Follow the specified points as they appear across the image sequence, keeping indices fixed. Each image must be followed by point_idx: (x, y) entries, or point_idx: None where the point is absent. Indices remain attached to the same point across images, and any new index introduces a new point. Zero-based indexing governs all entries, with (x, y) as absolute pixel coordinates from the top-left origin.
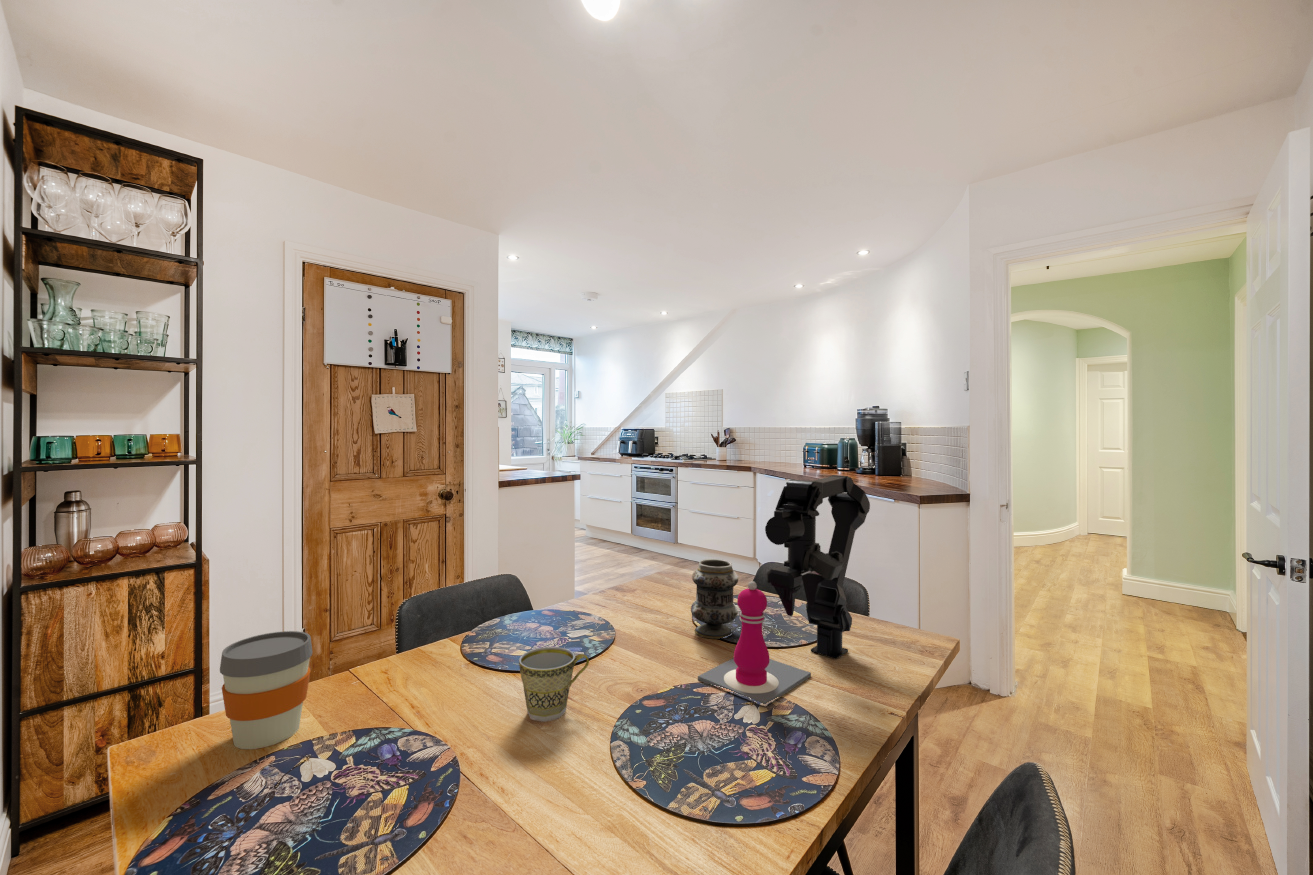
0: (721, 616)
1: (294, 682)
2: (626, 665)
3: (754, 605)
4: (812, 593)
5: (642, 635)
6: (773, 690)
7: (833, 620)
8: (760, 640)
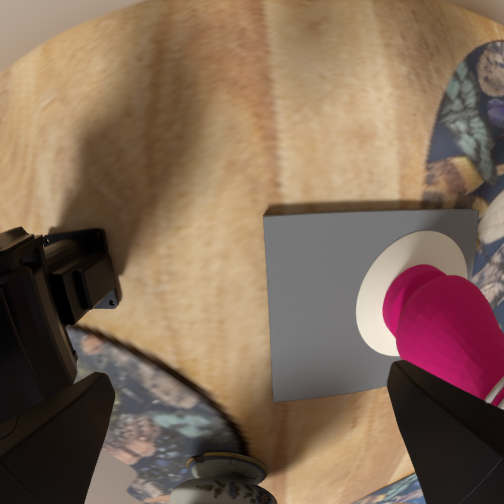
0: (251, 494)
1: None
2: None
3: None
4: (67, 433)
5: (333, 495)
6: (430, 229)
7: (41, 268)
8: (488, 326)
